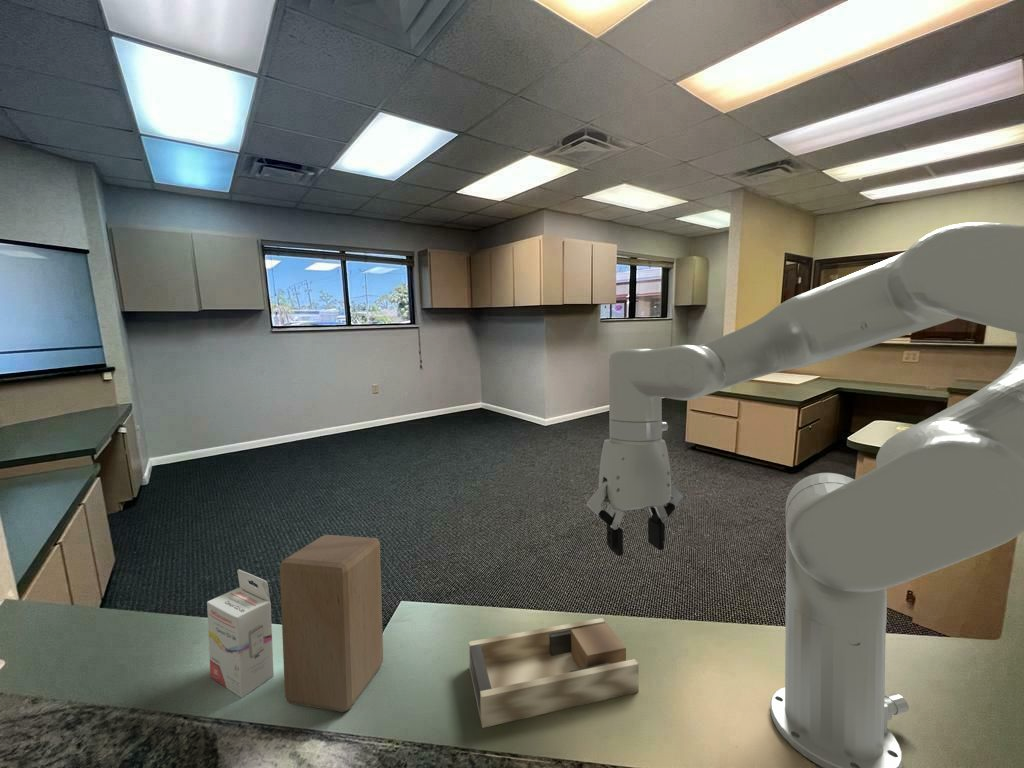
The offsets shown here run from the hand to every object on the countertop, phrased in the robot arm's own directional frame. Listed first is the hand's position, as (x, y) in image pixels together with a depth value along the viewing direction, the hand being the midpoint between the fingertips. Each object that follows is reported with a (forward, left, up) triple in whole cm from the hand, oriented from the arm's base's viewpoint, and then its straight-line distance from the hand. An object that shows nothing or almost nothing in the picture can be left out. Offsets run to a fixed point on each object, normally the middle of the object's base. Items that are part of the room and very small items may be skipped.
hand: (636, 548), depth 63 cm
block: (+44, -8, -18) cm, 48 cm away
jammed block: (+7, 0, -18) cm, 19 cm away
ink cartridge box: (+58, -13, -18) cm, 62 cm away
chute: (+14, 0, -18) cm, 22 cm away
